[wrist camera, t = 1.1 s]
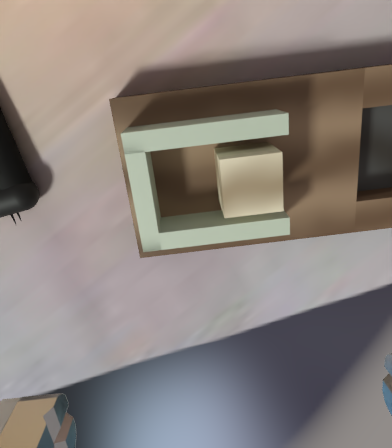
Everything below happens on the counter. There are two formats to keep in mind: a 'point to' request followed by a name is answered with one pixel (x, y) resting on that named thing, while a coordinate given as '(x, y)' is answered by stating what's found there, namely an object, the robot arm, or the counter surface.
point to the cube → (249, 179)
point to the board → (281, 149)
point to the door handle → (14, 176)
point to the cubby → (206, 221)
